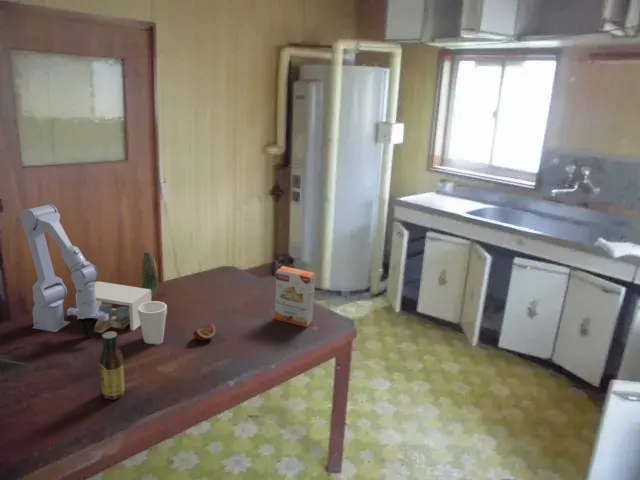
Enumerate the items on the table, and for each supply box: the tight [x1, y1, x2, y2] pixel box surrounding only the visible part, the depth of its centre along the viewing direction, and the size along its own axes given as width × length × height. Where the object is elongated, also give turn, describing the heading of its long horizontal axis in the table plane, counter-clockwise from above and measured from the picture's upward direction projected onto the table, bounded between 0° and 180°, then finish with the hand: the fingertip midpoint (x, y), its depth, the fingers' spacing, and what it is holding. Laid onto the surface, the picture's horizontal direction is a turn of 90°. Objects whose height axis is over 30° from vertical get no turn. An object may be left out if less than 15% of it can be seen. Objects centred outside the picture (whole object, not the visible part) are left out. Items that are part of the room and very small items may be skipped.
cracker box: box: [273, 265, 317, 328], centre depth 203 cm, size 14×6×21 cm, turn 68°
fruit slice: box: [192, 322, 217, 341], centre depth 187 cm, size 8×7×5 cm
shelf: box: [74, 280, 152, 331], centre depth 196 cm, size 22×13×11 cm, turn 78°
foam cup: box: [138, 300, 168, 346], centre depth 183 cm, size 10×9×13 cm
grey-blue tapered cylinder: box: [115, 306, 129, 323], centre depth 196 cm, size 4×4×4 cm
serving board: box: [93, 307, 130, 334], centre depth 193 cm, size 14×15×2 cm
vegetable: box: [141, 251, 159, 299], centre depth 215 cm, size 6×6×20 cm
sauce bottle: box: [99, 330, 126, 401], centre depth 151 cm, size 6×6×20 cm
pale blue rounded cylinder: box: [99, 303, 113, 320], centre depth 197 cm, size 4×4×4 cm
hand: (89, 336), depth 183 cm, fingers closed
